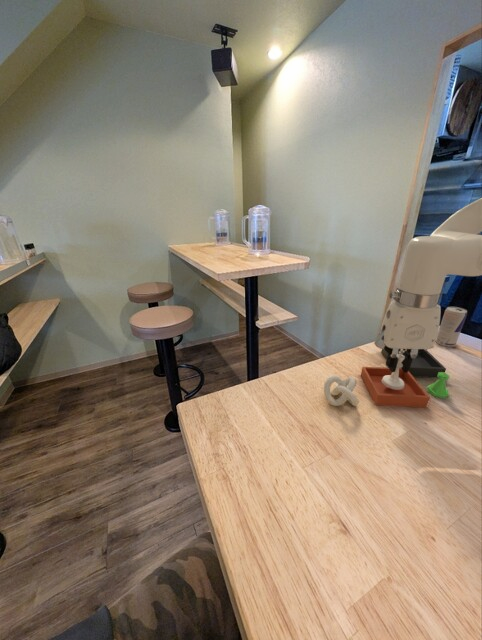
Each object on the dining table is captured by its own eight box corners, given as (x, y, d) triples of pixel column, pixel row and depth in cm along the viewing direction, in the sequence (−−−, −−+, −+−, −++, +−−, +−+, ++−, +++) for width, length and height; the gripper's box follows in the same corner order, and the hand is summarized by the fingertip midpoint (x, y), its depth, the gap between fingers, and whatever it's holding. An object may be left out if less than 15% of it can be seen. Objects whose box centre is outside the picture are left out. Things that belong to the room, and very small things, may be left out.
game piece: (445, 400, 60) (453, 380, 57) (424, 391, 63) (431, 372, 60) (450, 392, 62) (458, 372, 60) (430, 384, 65) (437, 365, 63)
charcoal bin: (419, 353, 78) (421, 345, 77) (443, 378, 67) (446, 368, 66) (381, 352, 80) (383, 344, 78) (398, 376, 69) (401, 367, 67)
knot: (367, 406, 59) (371, 386, 57) (341, 418, 56) (345, 398, 54) (342, 387, 65) (346, 368, 63) (318, 397, 62) (321, 378, 60)
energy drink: (459, 345, 82) (472, 311, 77) (448, 348, 80) (460, 314, 75) (441, 337, 86) (453, 305, 81) (431, 341, 84) (442, 308, 79)
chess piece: (377, 379, 64) (385, 346, 60) (391, 375, 66) (400, 342, 62) (393, 392, 60) (403, 356, 56) (408, 386, 62) (419, 352, 57)
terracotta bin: (403, 377, 68) (406, 368, 67) (426, 407, 58) (430, 397, 57) (360, 375, 69) (362, 366, 68) (375, 405, 59) (377, 395, 58)
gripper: (383, 304, 51) (367, 377, 59) (470, 304, 49) (441, 380, 57) (370, 292, 58) (357, 359, 65) (446, 292, 56) (423, 361, 63)
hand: (396, 368), depth 61 cm, fingers closed on chess piece
